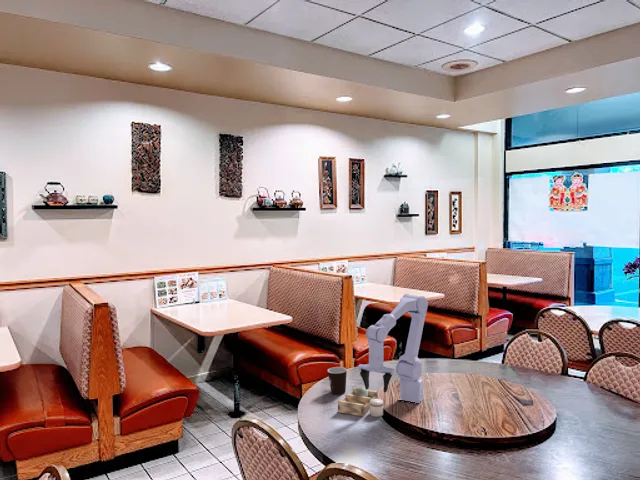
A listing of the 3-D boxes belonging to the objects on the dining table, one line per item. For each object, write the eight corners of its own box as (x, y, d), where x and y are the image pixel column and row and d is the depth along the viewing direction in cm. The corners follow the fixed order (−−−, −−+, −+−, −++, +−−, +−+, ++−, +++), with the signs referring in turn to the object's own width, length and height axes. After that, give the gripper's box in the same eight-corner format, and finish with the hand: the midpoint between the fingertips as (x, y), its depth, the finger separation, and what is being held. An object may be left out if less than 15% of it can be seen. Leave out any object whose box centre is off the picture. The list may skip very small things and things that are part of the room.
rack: (377, 401, 209) (377, 386, 209) (363, 416, 194) (363, 400, 193) (353, 397, 214) (353, 383, 213) (337, 412, 198) (337, 396, 198)
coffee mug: (346, 395, 216) (345, 373, 215) (327, 395, 217) (325, 373, 217) (350, 386, 227) (349, 364, 226) (331, 385, 229) (330, 364, 228)
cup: (385, 413, 197) (385, 399, 197) (380, 418, 192) (380, 404, 192) (372, 411, 199) (372, 397, 199) (367, 416, 194) (367, 402, 194)
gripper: (355, 356, 194) (355, 390, 195) (390, 361, 188) (390, 396, 188) (361, 352, 200) (361, 385, 201) (396, 356, 194) (396, 390, 195)
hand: (376, 390), depth 195 cm, fingers open, 7 cm apart
